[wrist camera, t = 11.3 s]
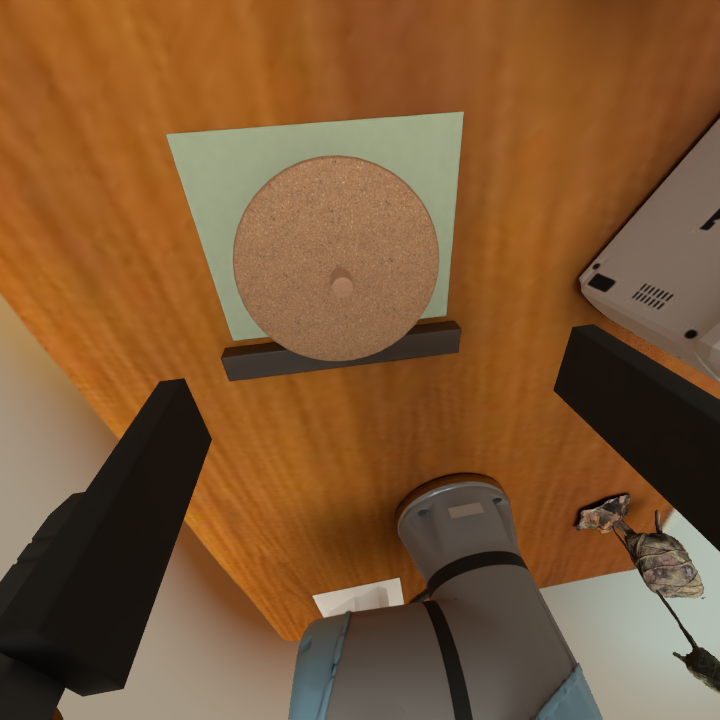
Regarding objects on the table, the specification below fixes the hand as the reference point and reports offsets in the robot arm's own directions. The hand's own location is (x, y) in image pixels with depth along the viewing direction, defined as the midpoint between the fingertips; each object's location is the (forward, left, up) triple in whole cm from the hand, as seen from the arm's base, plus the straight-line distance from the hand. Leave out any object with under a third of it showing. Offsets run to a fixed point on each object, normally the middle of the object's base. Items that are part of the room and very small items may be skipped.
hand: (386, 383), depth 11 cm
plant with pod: (-43, -37, -16) cm, 59 cm away
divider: (-8, +1, -16) cm, 18 cm away
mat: (+1, +1, -16) cm, 16 cm away
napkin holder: (-60, +3, -16) cm, 62 cm away
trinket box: (+1, +1, -16) cm, 16 cm away
